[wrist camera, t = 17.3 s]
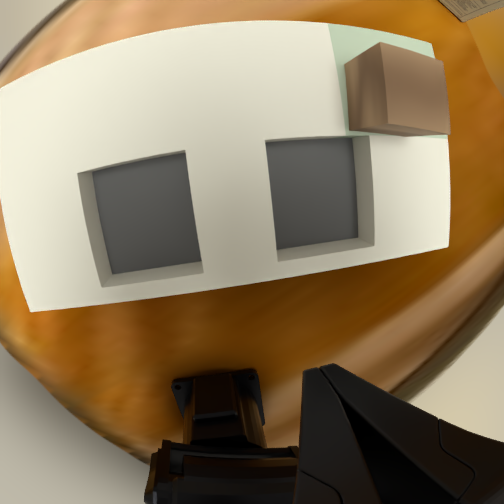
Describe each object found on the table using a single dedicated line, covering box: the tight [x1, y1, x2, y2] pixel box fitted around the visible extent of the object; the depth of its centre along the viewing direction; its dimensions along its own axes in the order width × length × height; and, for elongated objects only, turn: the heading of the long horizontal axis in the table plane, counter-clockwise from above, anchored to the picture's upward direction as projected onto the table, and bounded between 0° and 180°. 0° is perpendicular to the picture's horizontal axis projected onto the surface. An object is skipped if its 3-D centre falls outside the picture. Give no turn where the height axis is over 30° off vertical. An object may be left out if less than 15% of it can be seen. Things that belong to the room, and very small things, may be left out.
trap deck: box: [0, 21, 450, 312], centre depth 16 cm, size 14×28×2 cm, turn 97°
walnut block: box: [344, 42, 450, 137], centre depth 13 cm, size 4×4×4 cm
